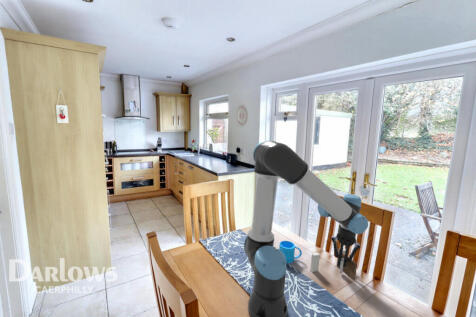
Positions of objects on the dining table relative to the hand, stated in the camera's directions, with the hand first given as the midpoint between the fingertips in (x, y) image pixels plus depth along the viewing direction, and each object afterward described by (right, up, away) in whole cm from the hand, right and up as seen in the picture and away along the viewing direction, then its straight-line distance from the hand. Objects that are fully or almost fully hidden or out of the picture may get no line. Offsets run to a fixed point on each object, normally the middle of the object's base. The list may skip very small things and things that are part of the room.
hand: (340, 271), depth 109 cm
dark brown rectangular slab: (+4, -1, +1) cm, 4 cm away
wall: (-4, 0, +5) cm, 6 cm away
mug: (-22, +1, +11) cm, 25 cm away
